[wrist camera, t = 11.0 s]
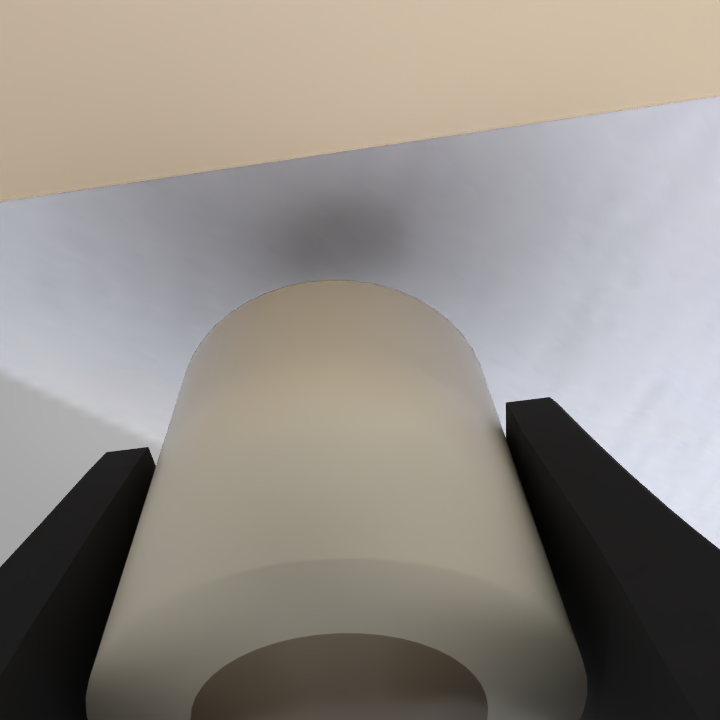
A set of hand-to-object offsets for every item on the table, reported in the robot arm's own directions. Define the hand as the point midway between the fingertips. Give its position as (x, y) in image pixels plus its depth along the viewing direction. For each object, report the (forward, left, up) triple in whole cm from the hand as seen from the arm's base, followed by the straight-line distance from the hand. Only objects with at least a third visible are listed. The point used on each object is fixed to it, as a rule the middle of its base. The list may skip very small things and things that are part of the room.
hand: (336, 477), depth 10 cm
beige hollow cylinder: (0, 0, -2) cm, 2 cm away
